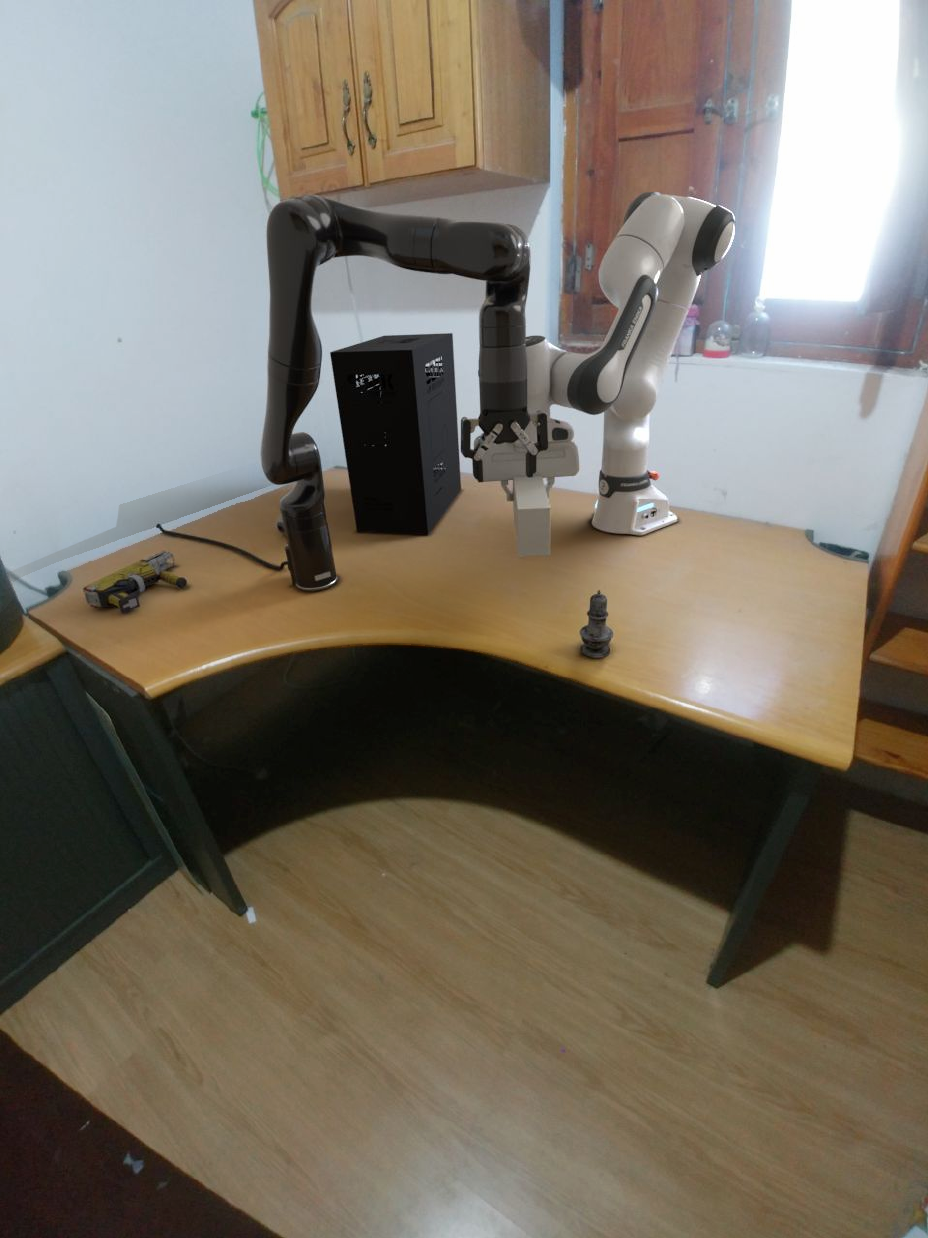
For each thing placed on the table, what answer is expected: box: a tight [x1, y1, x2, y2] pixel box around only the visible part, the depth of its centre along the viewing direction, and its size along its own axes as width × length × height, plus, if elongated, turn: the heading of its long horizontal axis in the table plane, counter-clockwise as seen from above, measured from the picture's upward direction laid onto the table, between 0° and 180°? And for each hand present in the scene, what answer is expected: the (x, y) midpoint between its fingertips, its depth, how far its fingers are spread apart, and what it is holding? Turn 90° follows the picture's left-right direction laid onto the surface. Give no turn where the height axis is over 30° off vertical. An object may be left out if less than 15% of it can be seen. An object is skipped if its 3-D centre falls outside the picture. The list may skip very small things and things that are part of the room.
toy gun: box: [82, 550, 188, 615], centre depth 138 cm, size 5×24×15 cm
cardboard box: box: [329, 332, 462, 536], centre depth 166 cm, size 38×20×45 cm, turn 167°
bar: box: [512, 476, 552, 558], centre depth 115 cm, size 24×6×9 cm, turn 178°
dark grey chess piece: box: [579, 589, 614, 659], centre depth 105 cm, size 6×6×12 cm
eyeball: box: [275, 513, 286, 535], centre depth 163 cm, size 6×6×6 cm
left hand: (504, 478), depth 102 cm, fingers open, 8 cm apart
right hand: (527, 499), depth 123 cm, fingers closed on bar, 5 cm apart
